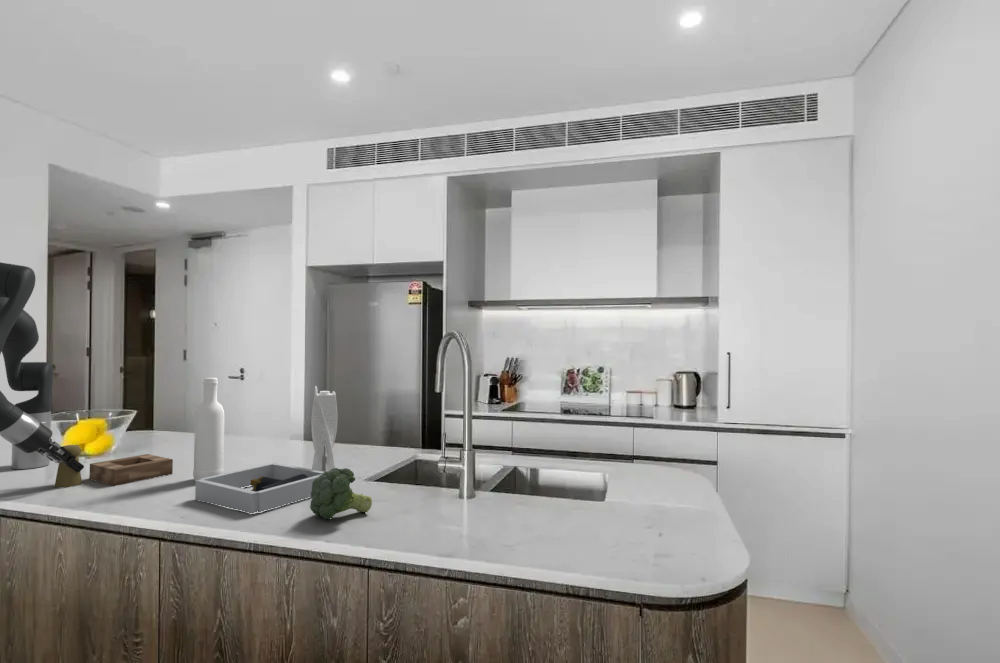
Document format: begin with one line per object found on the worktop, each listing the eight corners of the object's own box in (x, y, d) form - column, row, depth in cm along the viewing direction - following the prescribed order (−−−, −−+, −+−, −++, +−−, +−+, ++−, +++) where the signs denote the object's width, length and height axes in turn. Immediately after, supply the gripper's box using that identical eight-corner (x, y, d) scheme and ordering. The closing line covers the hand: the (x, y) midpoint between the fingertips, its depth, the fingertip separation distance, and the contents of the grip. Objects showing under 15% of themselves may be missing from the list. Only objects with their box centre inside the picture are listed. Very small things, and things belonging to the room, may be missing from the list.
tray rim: (193, 499, 139) (193, 480, 139) (273, 479, 160) (273, 462, 161) (254, 515, 127) (254, 494, 128) (331, 491, 149) (332, 473, 149)
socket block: (89, 479, 158) (89, 463, 158) (147, 468, 172) (147, 454, 172) (114, 485, 151) (114, 469, 151) (172, 474, 165) (172, 459, 165)
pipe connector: (234, 482, 137) (276, 469, 152) (233, 503, 137) (276, 488, 152) (270, 488, 134) (310, 474, 148) (269, 510, 134) (309, 493, 148)
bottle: (227, 479, 160) (229, 378, 160) (198, 484, 154) (201, 379, 154) (217, 474, 165) (219, 376, 166) (189, 479, 159) (191, 377, 160)
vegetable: (381, 512, 124) (321, 491, 117) (351, 542, 129) (293, 524, 122) (383, 471, 134) (328, 450, 127) (356, 501, 139) (301, 481, 132)
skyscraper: (301, 482, 158) (303, 386, 158) (320, 475, 165) (322, 384, 166) (324, 485, 155) (326, 387, 155) (343, 478, 162) (344, 385, 163)
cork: (70, 487, 149) (71, 447, 149) (48, 487, 149) (49, 447, 149) (87, 482, 155) (88, 443, 155) (66, 481, 155) (67, 443, 155)
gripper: (49, 422, 142) (100, 460, 152) (25, 418, 149) (76, 454, 159) (23, 446, 137) (78, 483, 148) (0, 440, 144) (53, 476, 155)
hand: (76, 468), depth 154 cm, fingers closed on cork, 4 cm apart
